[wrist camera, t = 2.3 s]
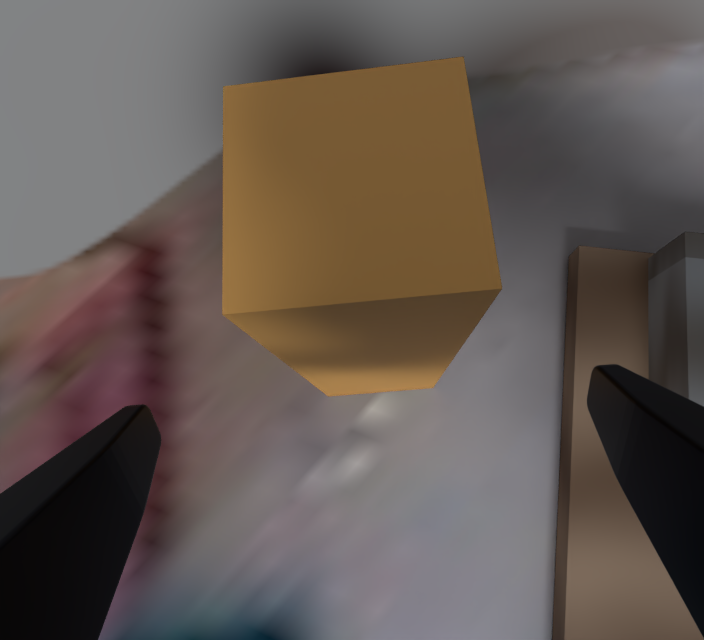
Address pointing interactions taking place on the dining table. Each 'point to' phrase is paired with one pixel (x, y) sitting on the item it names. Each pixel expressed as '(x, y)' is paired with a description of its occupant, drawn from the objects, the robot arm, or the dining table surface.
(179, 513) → the dining table surface
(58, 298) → the dining table surface
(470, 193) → the block
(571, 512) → the keeper
